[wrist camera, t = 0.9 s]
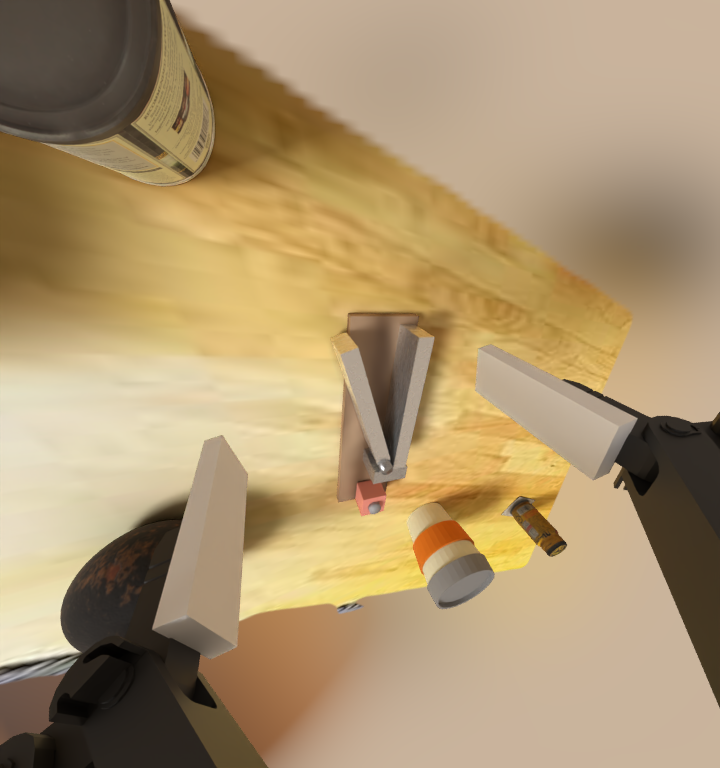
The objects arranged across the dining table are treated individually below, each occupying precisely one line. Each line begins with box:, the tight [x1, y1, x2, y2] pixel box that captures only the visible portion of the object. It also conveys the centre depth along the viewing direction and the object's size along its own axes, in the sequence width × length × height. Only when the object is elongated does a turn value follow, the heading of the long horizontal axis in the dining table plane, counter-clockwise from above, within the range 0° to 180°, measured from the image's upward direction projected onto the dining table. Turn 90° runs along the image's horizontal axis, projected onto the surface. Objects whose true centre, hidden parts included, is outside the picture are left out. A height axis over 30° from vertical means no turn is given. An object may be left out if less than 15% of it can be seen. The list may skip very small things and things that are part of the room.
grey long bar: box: [363, 324, 435, 484], centre depth 37 cm, size 5×23×5 cm, turn 175°
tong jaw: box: [330, 332, 393, 475], centre depth 34 cm, size 2×20×6 cm, turn 15°
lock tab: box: [355, 480, 386, 516], centre depth 45 cm, size 4×4×4 cm
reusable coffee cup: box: [407, 503, 494, 609], centre depth 54 cm, size 13×12×15 cm
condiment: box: [502, 497, 567, 556], centre depth 68 cm, size 7×8×12 cm
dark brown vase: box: [61, 520, 182, 653], centre depth 29 cm, size 18×18×28 cm
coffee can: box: [0, 0, 215, 186], centre depth 13 cm, size 10×10×14 cm
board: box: [337, 313, 419, 502], centre depth 41 cm, size 9×33×1 cm, turn 175°
